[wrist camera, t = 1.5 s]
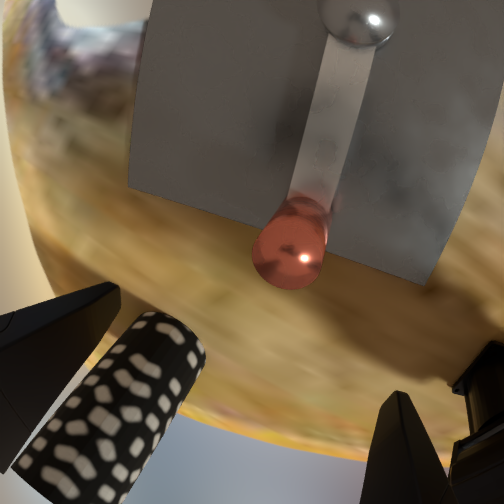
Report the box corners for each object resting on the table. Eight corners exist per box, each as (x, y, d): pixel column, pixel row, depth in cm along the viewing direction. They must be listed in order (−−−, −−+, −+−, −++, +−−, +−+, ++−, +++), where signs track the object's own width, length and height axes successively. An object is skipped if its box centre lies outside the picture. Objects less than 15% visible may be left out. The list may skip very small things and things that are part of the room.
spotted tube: (157, 371, 34) (61, 507, 17) (122, 313, 31) (-4, 453, 14) (218, 375, 31) (123, 546, 14) (184, 309, 28) (43, 497, 11)
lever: (341, -67, 10) (332, -117, 5) (407, -50, 10) (421, -96, 5) (269, 228, 20) (240, 273, 15) (327, 248, 20) (315, 300, 15)
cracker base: (422, 278, 20) (432, 319, 16) (135, 183, 23) (97, 202, 19) (510, -16, 8) (540, -35, 5) (187, -85, 12) (154, -108, 8)
